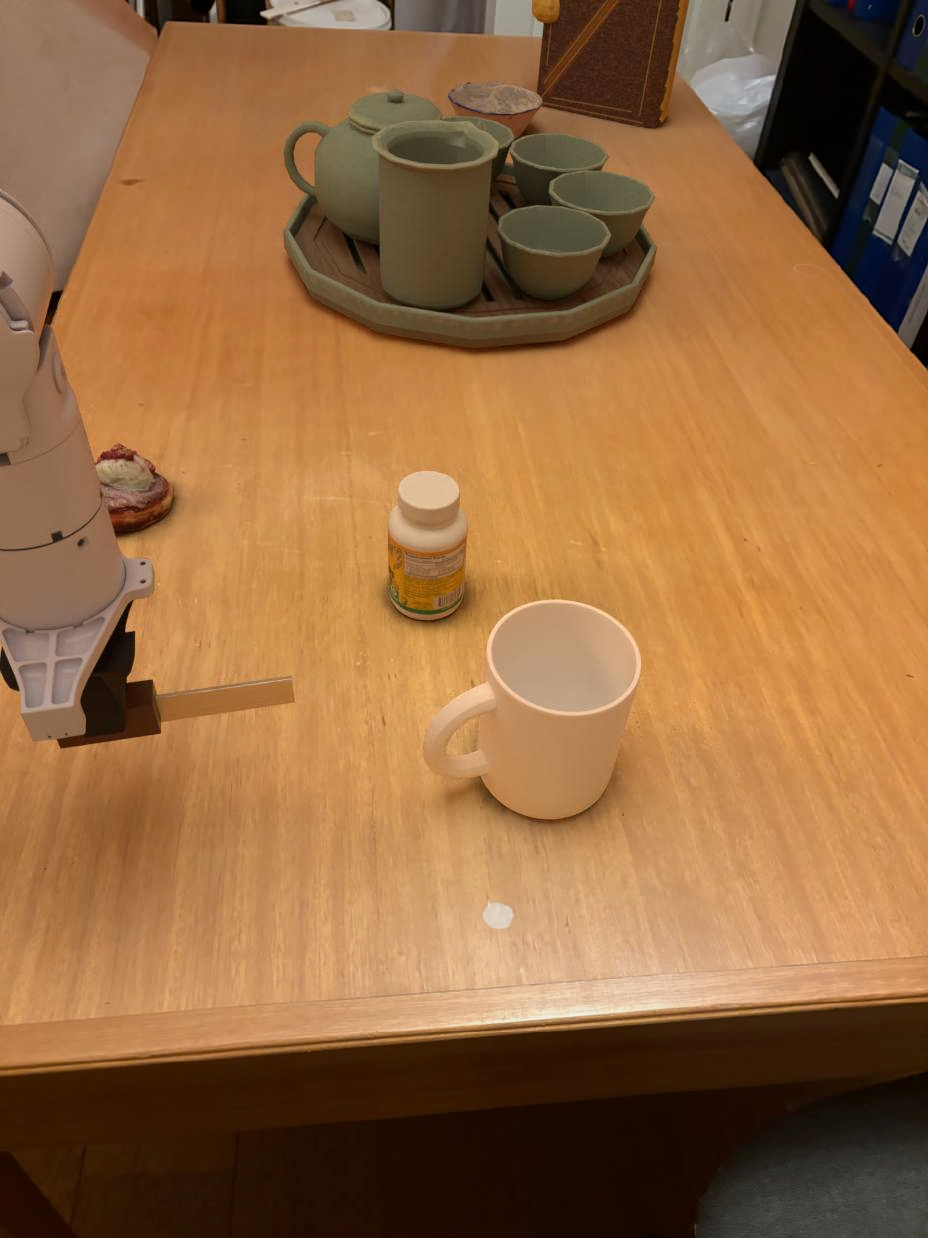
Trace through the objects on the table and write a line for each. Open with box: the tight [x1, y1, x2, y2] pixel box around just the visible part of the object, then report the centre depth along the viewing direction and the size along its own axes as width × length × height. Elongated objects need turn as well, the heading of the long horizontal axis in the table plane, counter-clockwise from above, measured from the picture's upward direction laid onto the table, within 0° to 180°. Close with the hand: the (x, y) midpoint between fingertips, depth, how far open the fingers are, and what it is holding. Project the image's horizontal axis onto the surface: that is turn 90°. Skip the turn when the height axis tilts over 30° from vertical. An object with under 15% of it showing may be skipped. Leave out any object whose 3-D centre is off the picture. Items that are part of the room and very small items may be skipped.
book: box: [531, 0, 690, 129], centre depth 131 cm, size 22×8×25 cm, turn 65°
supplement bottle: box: [387, 470, 469, 621], centre depth 63 cm, size 5×5×10 cm
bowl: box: [447, 81, 543, 140], centre depth 129 cm, size 13×13×5 cm
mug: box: [422, 599, 643, 820], centre depth 52 cm, size 12×8×10 cm
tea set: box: [282, 88, 658, 349], centre depth 97 cm, size 40×40×16 cm
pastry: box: [94, 442, 174, 532], centre depth 70 cm, size 8×8×5 cm
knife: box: [56, 675, 296, 750], centre depth 48 cm, size 12×2×2 cm, turn 103°
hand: (105, 711), depth 48 cm, fingers closed on knife, 2 cm apart
